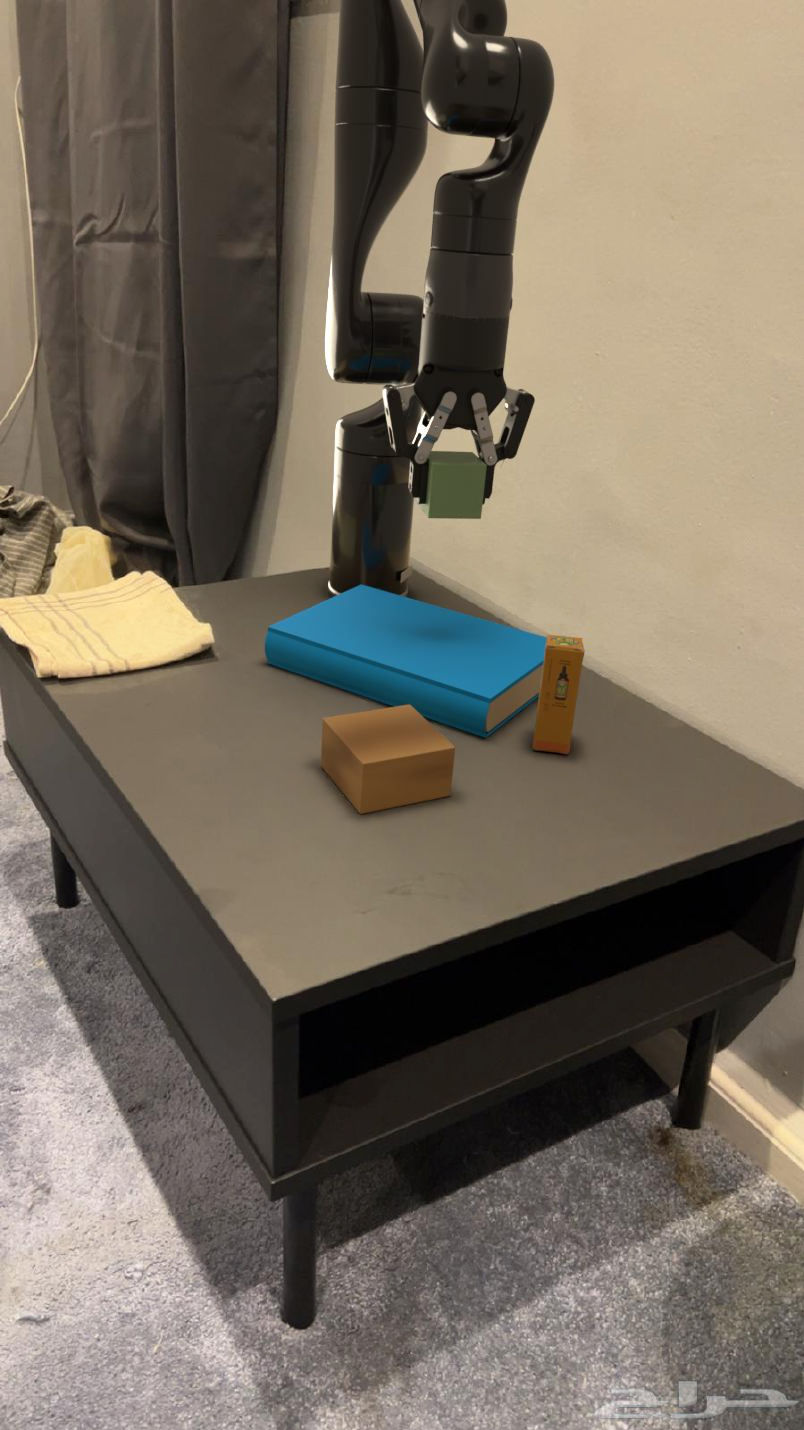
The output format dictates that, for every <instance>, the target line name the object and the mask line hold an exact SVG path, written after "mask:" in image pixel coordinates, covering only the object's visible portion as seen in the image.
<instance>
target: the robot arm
mask: <svg viewBox="0 0 804 1430" xmlns="http://www.w3.org/2000/svg"><path fill="white" fill-rule="evenodd" d="M412 1H413V4H414V8H415V12H416V15H417V18H418V21H419V25H420V28H421V31H422V44H421V42H420V41H421V40H420V38H419V36H418V34H417V32H416V30H415V28H414V25H413V23H412V21H411V18H410V17H409V15H408V13H407V10H406V8H405V5H404V4H403V2H402V0H339V17H338V18H339V21H338V22H339V23H338V40H337V41H338V43H337V59H336V61H337V62H336V77H335V98H334V99H335V101H334V108H335V109H334V175H333V176H334V179H333V181H334V183H333V184H334V186H333V187H334V188H333V189H334V192H333V195H334V196H333V199H334V201H333V226H332V227H333V228H332V242H331V256H330V257H331V258H330V264H329V265H330V269H329V278H328V279H329V280H328V291H327V302H326V303H327V304H326V314H325V315H326V317H325V331H324V353H325V354H324V355H325V364H326V368H327V371H328V374H329V376H330V377H331V379H332V380H333V381H334V382H336V383H339V384H354V385H375V386H383V387H382V389H381V395H382V397H381V398H380V399H378V400H377V401H376V402H374V403H372V404H371V405H369V406H366V407H364V408H362V409H359V410H356V411H353V412H350V413H347V414H345V415H343V416H341V417H340V418H339V419H338V421H337V422H336V424H335V434H334V435H335V436H334V456H333V459H334V460H333V484H332V485H333V488H332V507H331V509H332V512H331V514H332V515H331V532H330V533H331V534H330V535H331V537H330V555H329V556H330V557H329V578H328V579H329V580H328V582H327V583H328V584H327V591H328V594H329V595H330V596H331V598H332V597H335V596H337V595H339V594H341V593H343V592H346V591H348V590H350V589H352V588H354V587H357V586H359V585H365V586H368V587H372V588H375V589H379V590H382V591H386V592H389V593H393V594H396V595H400V596H403V597H407V598H408V592H409V586H408V580H409V577H411V576H412V573H413V564H411V565H410V559H411V556H410V555H411V543H412V532H413V531H412V530H413V519H414V517H413V516H414V504H415V502H416V504H417V505H418V504H425V503H426V495H427V483H428V471H429V465H428V464H427V459H428V457H429V455H430V452H431V451H433V448H434V445H435V444H436V443H437V442H438V441H439V438H440V436H441V434H442V432H443V430H454V429H457V428H459V429H461V430H465V431H470V433H471V436H472V437H473V442H474V445H475V450H476V454H477V457H478V458H479V459H481V460H482V461H483V462H484V463H485V464H486V465H487V467H486V476H485V485H484V495H483V504H482V506H484V505H486V499H487V500H489V499H490V498H491V496H492V494H493V487H494V486H493V485H494V477H495V468H496V465H497V464H498V463H499V462H501V461H503V460H507V459H508V460H512V459H514V458H515V457H516V456H517V455H518V451H519V449H520V445H521V442H522V439H523V438H524V437H523V436H524V434H525V431H526V428H527V426H528V422H529V420H530V416H531V414H532V410H533V408H534V404H535V402H536V398H535V396H534V394H531V393H530V392H528V391H526V390H525V389H523V388H519V389H515V388H512V387H508V386H507V383H506V380H505V377H504V369H505V363H506V354H507V353H506V352H507V343H508V335H509V328H510V327H509V325H510V317H511V316H510V315H511V311H512V308H513V290H514V289H513V287H514V255H513V254H514V251H515V244H516V235H517V224H518V217H519V208H520V207H519V206H520V200H521V197H522V193H523V191H524V187H525V184H526V180H527V177H528V174H529V172H530V171H529V170H530V167H531V164H532V162H533V159H534V156H535V152H536V149H537V146H538V144H539V142H540V139H541V136H542V134H543V132H544V129H545V126H546V123H547V120H548V117H549V115H550V111H551V108H552V104H553V101H554V93H555V73H554V67H553V63H552V60H551V58H550V55H549V53H548V51H547V50H546V49H545V47H544V46H543V45H541V43H539V42H538V41H535V40H534V39H529V38H523V37H515V36H505V34H506V30H507V26H508V9H507V3H506V0H412ZM422 45H423V46H422ZM429 123H430V124H431V125H432V126H433V127H434V128H435V129H436V130H438V131H439V132H442V133H444V134H447V135H452V136H463V137H471V138H472V137H474V138H484V139H494V142H493V146H492V148H491V150H490V152H489V153H488V156H487V157H486V159H485V160H484V161H483V163H481V164H480V165H477V166H474V167H469V168H462V169H457V170H456V169H455V170H452V171H448V172H446V173H443V175H441V176H440V177H439V178H438V180H437V181H436V185H435V189H434V196H433V205H432V206H433V209H432V212H433V213H432V224H431V235H430V249H429V257H428V262H427V266H426V271H425V277H424V279H425V280H424V289H423V297H421V296H420V295H416V294H410V293H396V292H395V293H392V292H377V291H376V292H375V291H362V288H363V279H364V274H365V270H366V266H367V262H368V260H369V257H370V253H371V251H372V249H373V246H374V245H375V244H374V243H375V242H376V240H377V238H378V236H379V234H380V232H381V230H382V229H383V227H384V225H385V223H386V222H387V220H388V218H389V216H391V213H392V212H393V211H394V209H395V208H396V206H397V205H398V203H399V201H400V200H401V198H402V197H403V196H404V194H405V193H406V191H407V190H408V188H409V187H410V184H411V183H412V182H413V180H414V179H415V177H416V175H417V174H418V171H419V170H420V168H421V165H422V164H423V161H424V159H425V156H426V152H427V147H428V139H429V138H428V137H429ZM503 400H504V409H505V411H506V412H507V415H506V418H505V421H504V423H503V426H502V430H501V432H500V436H499V439H498V441H497V443H494V434H493V429H492V425H491V421H490V416H491V415H492V414H493V412H494V411H495V410H496V408H497V407H498V406H499V405H500V404H501V403H502V401H503Z"/></svg>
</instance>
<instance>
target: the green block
mask: <svg viewBox="0 0 804 1430" xmlns="http://www.w3.org/2000/svg"><path fill="white" fill-rule="evenodd" d="M427 464H428V465H429V471H428V483H427V495H426V503H425V504H417V505H418V506H419V508H420V509H421V510H422V512H423V513H424V514H425V515H426V517H427V518H428V519H450V520H451V519H454V520H455V519H456V520H457V519H458V520H459V519H461V520H481V519H482V514H483V513H482V512H483V505H482V504H483V495H484V485H485V476H486V467H487V465H486V464H485V463H484V462H483V461H482V460H481V459H479V456H478V455H477V454H476V453H474V452H473V451H450V450H449V451H448V450H431V452H430V455H429V457H428V459H427Z"/></svg>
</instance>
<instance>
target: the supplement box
mask: <svg viewBox="0 0 804 1430" xmlns="http://www.w3.org/2000/svg"><path fill="white" fill-rule="evenodd" d="M546 637H547V640H546V646H545V654H544V662H543V669H542V677H541V685H540V692H539V697H538V698H537V699H538V701H537V707H536V708H537V709H536V714H535V724H534V732H533V739H532V750H533V751H537V752H538V751H539V752H549V753H558V754H562V755H569V753H570V750H571V740H572V733H573V727H574V720H575V713H576V708H577V699H578V693H579V688H580V687H579V686H580V679H581V674H582V667H583V662H584V657H585V652H586V651H585V647H584V642H583V637H577V636H576V637H575V636H565V635H555V634H547V635H546Z"/></svg>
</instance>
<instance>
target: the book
mask: <svg viewBox="0 0 804 1430" xmlns="http://www.w3.org/2000/svg"><path fill="white" fill-rule="evenodd" d="M546 640H547V636H545V635H543V636H542V635H540V634H536V633H534V632H529V631H525V630H522V629H518V628H516V627H512V626H508V625H505V624H500V623H498V622H495V621H491V620H488V619H484V618H480V617H476V616H474V615H469V614H467V613H463V612H459V611H455V610H453V609H448V608H445V607H443V606H438V605H434V604H431V603H428V602H424V601H421V600H416V599H414V598H411V597H408V596H407V597H403V596H400V595H396V594H393V593H389V592H386V591H382V590H379V589H375V588H372V587H368V586H365V585H359V586H357V587H354V588H352V589H350V590H348V591H346V592H343V593H341V594H339V595H337V596H335V597H332V596H331V597H330V598H328V599H326V600H324V601H321V602H320V603H317V604H315V605H313V606H311V607H307V608H306V609H304V610H302V611H299V612H297V613H294V614H293V615H290V616H289V617H286V618H284V619H281V620H280V621H277V622H275V623H273V624H271V625H269V626H267V632H266V635H265V641H264V655H265V657H266V660H267V664H268V665H272V666H274V667H278V668H280V669H284V670H286V671H289V672H292V673H295V674H299V675H301V676H304V677H306V678H310V679H313V680H314V681H315V680H316V681H318V682H321V683H324V684H327V685H330V686H333V687H336V688H339V689H342V690H345V691H347V692H351V693H354V694H356V695H360V696H363V697H365V698H368V699H371V700H375V701H376V702H380V703H383V704H386V705H389V706H391V707H396V706H402V705H409V704H410V705H411V706H412V707H413V708H414V709H415V710H416V711H417V712H419V713H420V714H421V715H422V716H423V717H424V718H425V719H429V720H432V721H436V722H438V723H441V724H444V725H446V726H450V727H452V728H454V729H455V728H456V729H459V730H461V731H464V732H467V733H470V734H473V735H476V736H479V737H482V738H485V739H486V738H488V737H489V736H491V735H492V734H493V733H494V732H496V731H497V730H498V729H499V728H501V727H503V725H505V724H506V723H508V721H510V720H511V719H512V718H514V717H515V716H516V715H517V714H518V713H520V712H521V711H522V710H524V709H525V708H526V707H527V706H529V705H530V704H531V703H533V702H534V701H535V700H537V699H539V692H540V685H541V677H542V669H543V662H544V654H545V646H546Z"/></svg>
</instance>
